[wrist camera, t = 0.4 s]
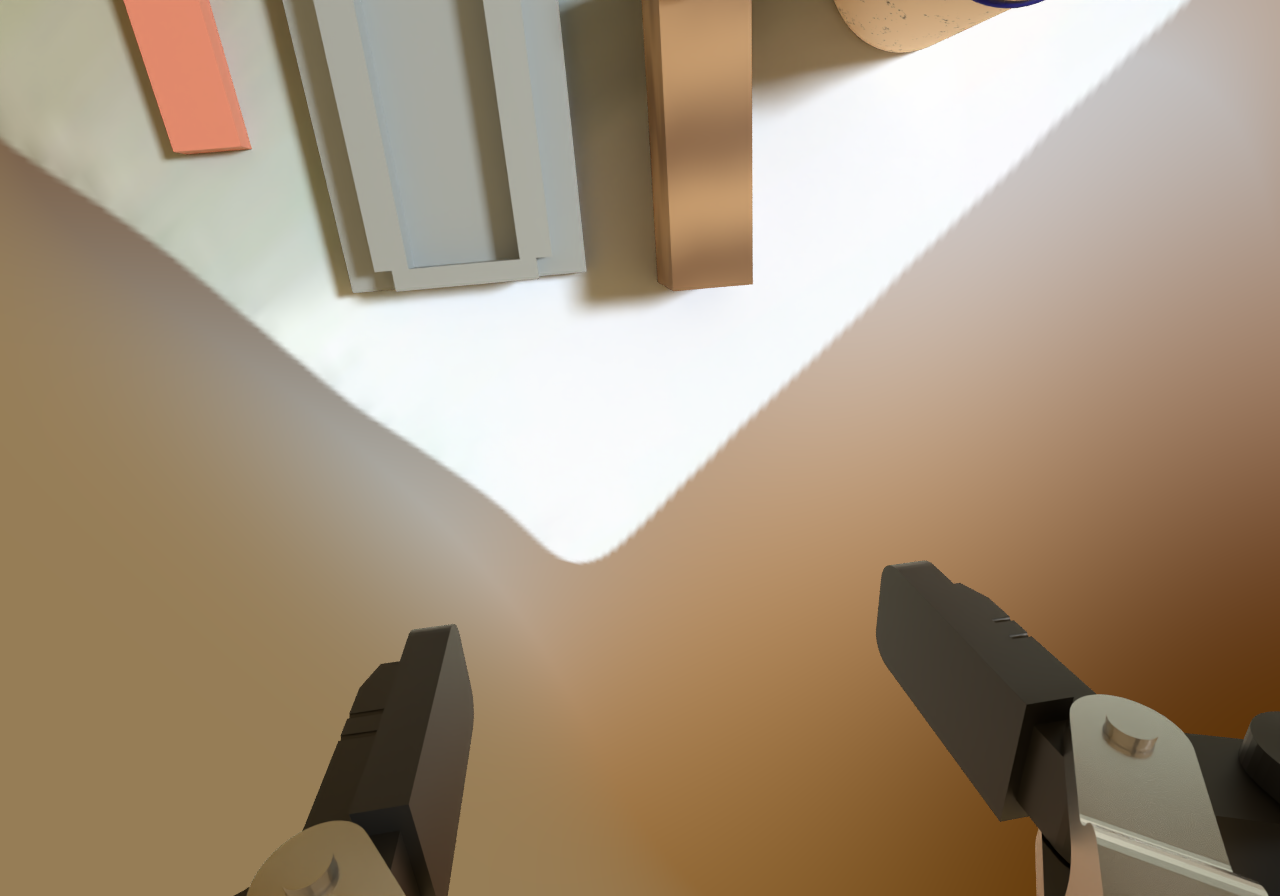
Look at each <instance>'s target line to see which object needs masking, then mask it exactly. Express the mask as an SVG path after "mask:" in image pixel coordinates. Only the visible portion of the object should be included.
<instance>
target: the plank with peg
mask: <svg viewBox="0 0 1280 896" xmlns="http://www.w3.org/2000/svg"><path fill="white" fill-rule="evenodd" d="M641 1H642V19H643V36H644V53H645V71H646V88H647V106H648V123H649V140H650V158H651V175H652V192H653V210H654V227H655V245H656V262H657V279H658V283H660V284H662V285H664V286H665V287H667V288H669V289H670V290H672V291H681V290H692V289H703V288H715V287H726V286H738V285H749V284H753V262H752V0H641Z"/></svg>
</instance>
